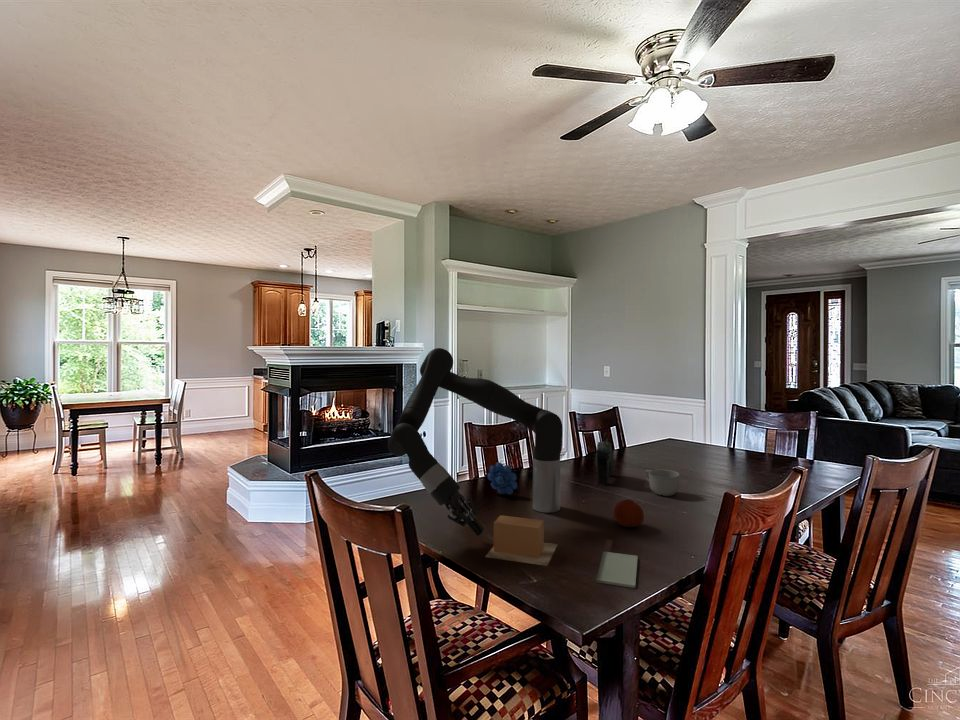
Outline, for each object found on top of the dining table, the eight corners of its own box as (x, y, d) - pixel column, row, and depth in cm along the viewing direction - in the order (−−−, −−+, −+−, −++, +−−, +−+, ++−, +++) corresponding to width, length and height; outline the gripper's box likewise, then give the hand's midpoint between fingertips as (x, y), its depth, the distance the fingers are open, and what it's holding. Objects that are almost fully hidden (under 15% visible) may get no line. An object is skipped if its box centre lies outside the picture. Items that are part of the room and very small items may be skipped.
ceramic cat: (609, 486, 194) (609, 436, 194) (592, 485, 197) (592, 435, 196) (614, 474, 213) (615, 428, 212) (599, 473, 215) (599, 427, 215)
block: (500, 542, 134) (500, 515, 134) (543, 548, 130) (543, 520, 130) (493, 551, 128) (493, 522, 128) (538, 557, 124) (538, 528, 124)
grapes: (483, 496, 182) (483, 463, 181) (489, 491, 188) (489, 460, 188) (514, 499, 178) (514, 466, 178) (519, 494, 184) (519, 462, 184)
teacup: (685, 496, 181) (686, 474, 181) (662, 499, 177) (662, 477, 177) (659, 486, 194) (659, 466, 194) (637, 489, 190) (637, 468, 190)
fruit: (607, 523, 153) (607, 497, 153) (630, 519, 156) (630, 494, 156) (625, 533, 145) (625, 506, 145) (649, 529, 148) (649, 502, 148)
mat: (560, 547, 134) (560, 545, 134) (637, 558, 127) (637, 555, 127) (548, 574, 118) (548, 572, 118) (635, 588, 111) (635, 585, 111)
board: (501, 542, 138) (501, 536, 138) (557, 549, 133) (557, 544, 133) (485, 562, 125) (485, 556, 125) (547, 571, 120) (547, 565, 120)
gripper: (440, 486, 143) (480, 533, 140) (420, 499, 131) (463, 551, 127) (457, 469, 142) (498, 516, 138) (438, 481, 129) (482, 533, 125)
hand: (481, 533), depth 132 cm, fingers closed
